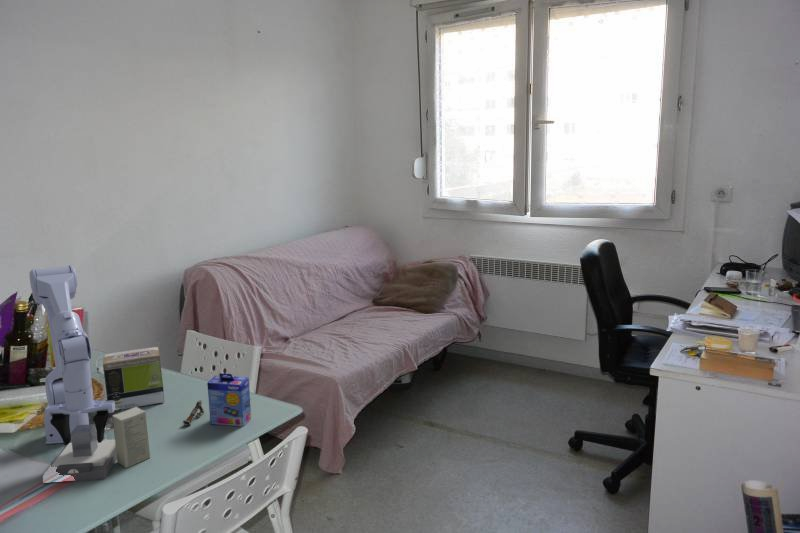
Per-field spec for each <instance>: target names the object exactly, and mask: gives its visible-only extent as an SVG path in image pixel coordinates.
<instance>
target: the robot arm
mask: <svg viewBox="0 0 800 533" xmlns="http://www.w3.org/2000/svg"><path fill="white" fill-rule="evenodd" d="M29 282H30V283H29V284H30V288H31V294H32V299H33V300H34V303H36V304H39V305H42V306H43V308H44V309H45V313H46V315H47V322H48V328H49V329H48V330H49V334H50V335H49V336H50V340H51V346H52V353H53V359H54V366H55V367H54V368H53V369H52V370H51V371H50V372H49V373H47V375H46V377H45V379H44V384H45V395H46V400H47V404H48V405H47V406H46V407H45V408H44V413H43V414H44V415H43V422H44V423H43V424H44V431H45V437H46V441H45V443H44V444H46V445H51V444H54V445H55V444H64V446H66V445H68V444H69V443H72V441H71V432H72V431H73V430H74V428H75V427H76V426H77V425H89V424H90V419H89V414H93V413H95V414H94V416H93V418H92V420H93V424H95V426H96V436H97V441H98V443H101V442H102V441H103V440H105V439H104V438H105V431H106V425H107V422H108V419H109V416H110V414H111V413H114V412H115V411H114V410H115V402H107V400H106V401H105V400H95V399H94V391H93V382H92V372H91V365H90V364H91V363H90V362H91V361H90V360H91V359H92V345H91V342H90V338H89V336H88V334H87V333H86V331H84V328H83V324H82V321H81V318H80V315H79V314H78V313H76V312H74V311H73V309H72V307H73V306H72V302H71V300H73V299H74V298H75V297H76V294H77V288H78V276H77V270H76V268H75V267H74V266H73V265H72V264H69V265H68V266H67V265H66V266H57V267H46V268H38V269H36V268H33V269H31V270H30V271H29ZM58 379H59V380H58Z"/></svg>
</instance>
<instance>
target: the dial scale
mask: <svg viewBox="0 0 800 533" xmlns="http://www.w3.org/2000/svg"><path fill="white" fill-rule="evenodd" d="M97 445H98V448H97V449H96V451H95V452H94V453H93V455H92V456H82V457H73V449H72V442H70V443H69V444H68V445H64V447H63V449H62V450H61V451H60V452H59V454H58V455H57V456H56V457H55V458H54V460H53V461H52V462H51V464H50V465H51V467H54V466H55V467H57V469H56V472H58V473H60V474H59V475H63V476H64V475H71V476H73V477H74V479H75V480H76V481H75V482H85V481H97V480H105V479H106V478H107V477H108V474H109V473H110V472H111V469H112V468H113V467H114V465H115V463H116V462H117V452H116V444H115V438H114V439H103V441H102V442H101V443H98V441H97Z"/></svg>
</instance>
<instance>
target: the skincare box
mask: <svg viewBox="0 0 800 533" xmlns="http://www.w3.org/2000/svg"><path fill="white" fill-rule="evenodd" d="M111 416H112V425H113V434H114V439H115V444H116V452H117V460H116V462H117V463H118V464H120V465H121V466H122V467H124V468H129V467H131V466H134V465H135V464H138V463H141V462H143V461H145V460H148V459H149V458H151V452H150V451H151V450H150V442H149V434H148V423H147V411H145V410H144V409H142V408H140V407H133V408H128V409H126V410H123V411H121V412H118V413H115V414H112V415H111Z"/></svg>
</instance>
